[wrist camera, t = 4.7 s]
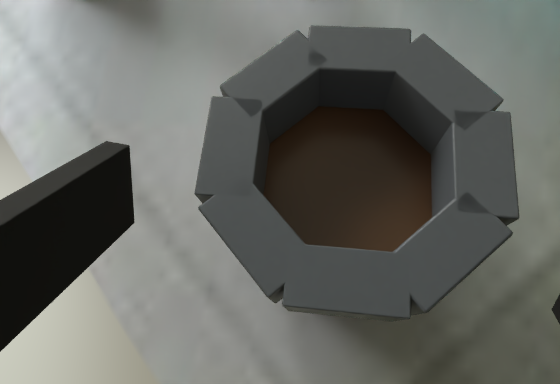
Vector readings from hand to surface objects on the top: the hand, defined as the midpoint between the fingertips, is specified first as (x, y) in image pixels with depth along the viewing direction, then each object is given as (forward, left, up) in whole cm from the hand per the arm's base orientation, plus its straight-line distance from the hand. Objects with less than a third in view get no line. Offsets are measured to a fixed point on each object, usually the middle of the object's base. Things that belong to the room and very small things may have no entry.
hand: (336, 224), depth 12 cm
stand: (+1, -2, -11) cm, 11 cm away
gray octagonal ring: (+1, -2, -3) cm, 4 cm away
